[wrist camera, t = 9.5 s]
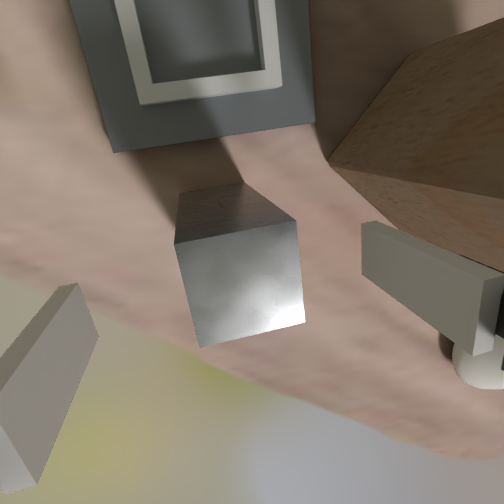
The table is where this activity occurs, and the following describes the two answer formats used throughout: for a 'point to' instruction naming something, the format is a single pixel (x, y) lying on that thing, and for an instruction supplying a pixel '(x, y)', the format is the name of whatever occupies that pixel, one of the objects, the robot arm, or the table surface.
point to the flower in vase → (481, 366)
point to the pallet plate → (196, 67)
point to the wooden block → (438, 146)
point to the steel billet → (237, 263)
